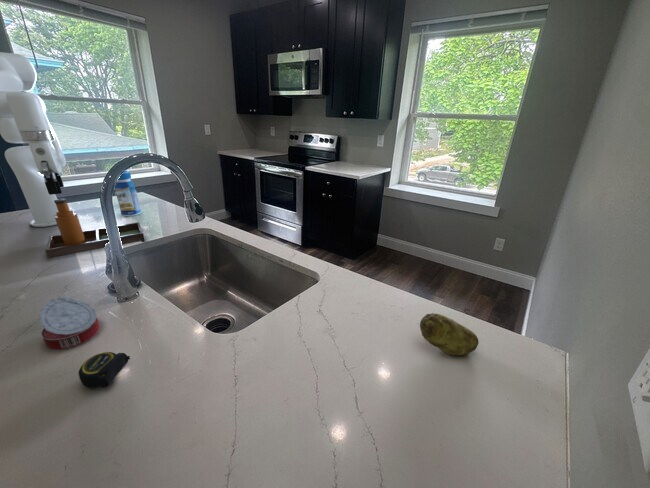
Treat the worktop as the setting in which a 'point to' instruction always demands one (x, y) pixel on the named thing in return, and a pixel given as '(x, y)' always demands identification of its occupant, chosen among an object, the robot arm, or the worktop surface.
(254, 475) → the worktop surface
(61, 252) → the tray
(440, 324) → the potato
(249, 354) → the worktop surface
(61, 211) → the bottle
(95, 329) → the canned food
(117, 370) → the tape measure
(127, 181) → the beverage bottle
